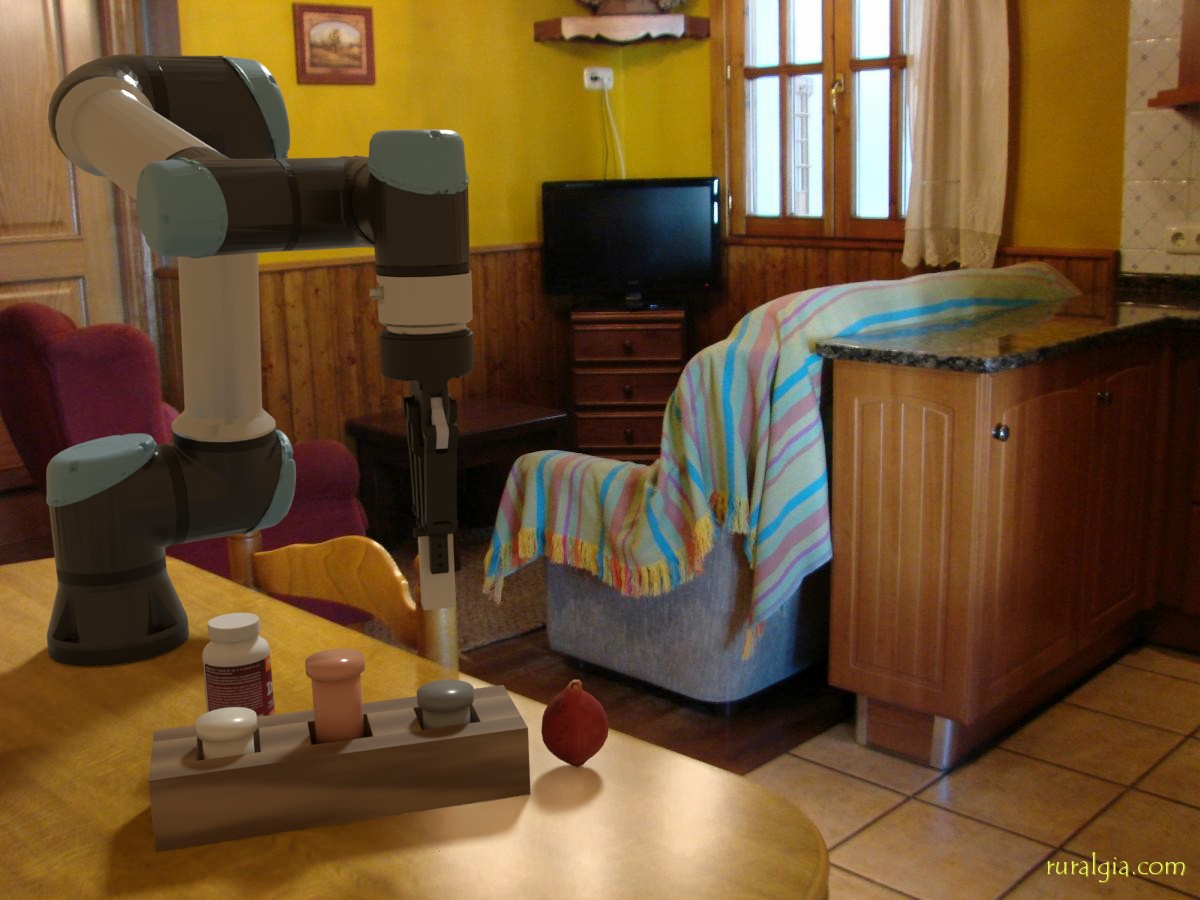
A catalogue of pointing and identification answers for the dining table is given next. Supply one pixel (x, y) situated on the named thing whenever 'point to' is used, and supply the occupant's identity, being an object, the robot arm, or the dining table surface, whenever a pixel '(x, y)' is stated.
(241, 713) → the plug white
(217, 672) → the pill bottle
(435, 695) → the plug blue-grey
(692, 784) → the dining table surface
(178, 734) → the socket block
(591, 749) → the onion
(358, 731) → the plug terracotta
